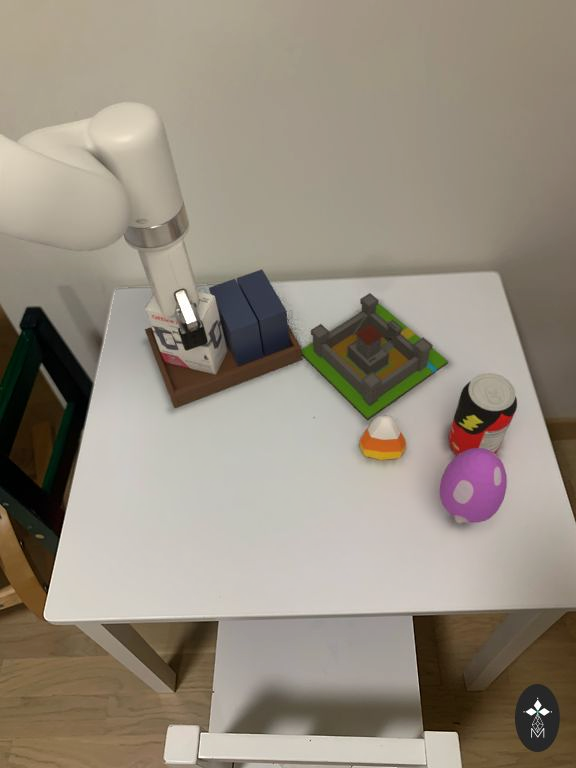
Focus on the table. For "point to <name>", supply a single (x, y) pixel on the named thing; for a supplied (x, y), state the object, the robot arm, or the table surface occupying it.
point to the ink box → (170, 341)
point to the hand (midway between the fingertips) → (185, 320)
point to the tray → (199, 384)
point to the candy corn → (383, 439)
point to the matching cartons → (251, 317)
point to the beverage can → (483, 413)
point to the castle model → (372, 358)
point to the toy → (473, 485)
